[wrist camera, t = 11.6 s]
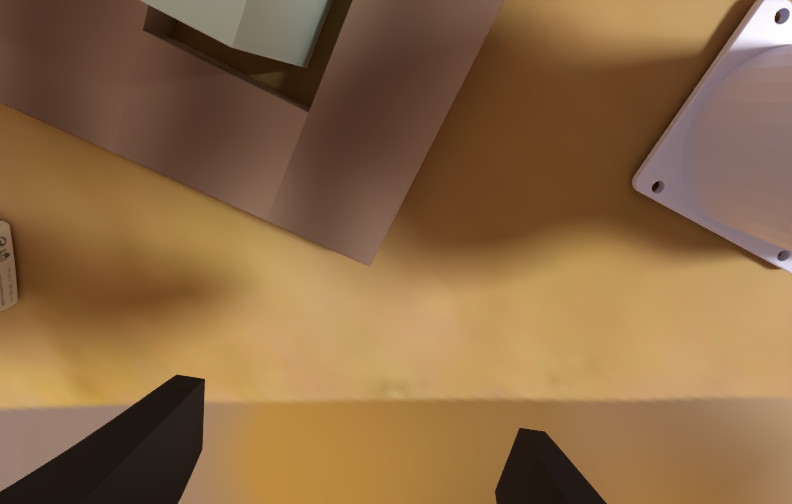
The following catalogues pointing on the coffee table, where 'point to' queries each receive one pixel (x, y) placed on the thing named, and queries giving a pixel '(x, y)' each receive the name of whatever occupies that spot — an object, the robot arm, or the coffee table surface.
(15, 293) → the skincare box
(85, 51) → the walnut socket frame
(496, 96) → the coffee table surface
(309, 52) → the sage peg
